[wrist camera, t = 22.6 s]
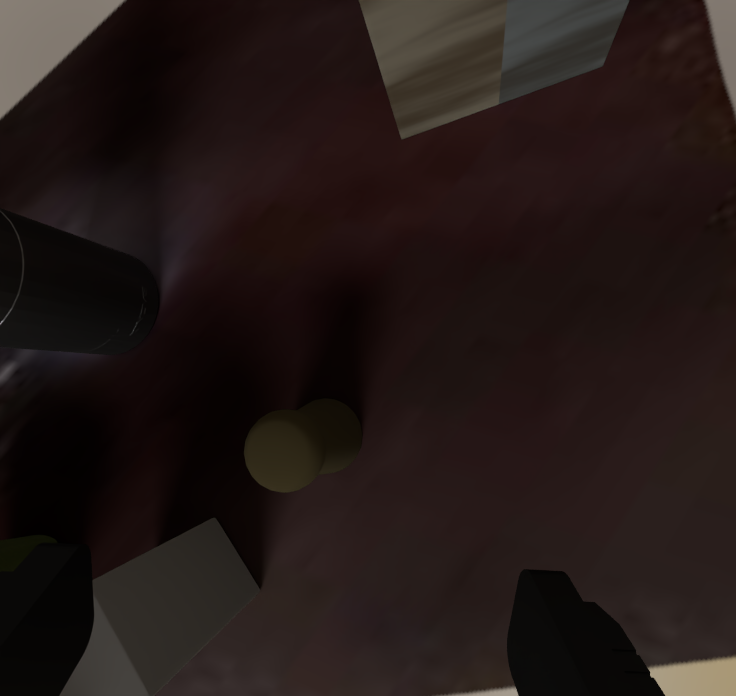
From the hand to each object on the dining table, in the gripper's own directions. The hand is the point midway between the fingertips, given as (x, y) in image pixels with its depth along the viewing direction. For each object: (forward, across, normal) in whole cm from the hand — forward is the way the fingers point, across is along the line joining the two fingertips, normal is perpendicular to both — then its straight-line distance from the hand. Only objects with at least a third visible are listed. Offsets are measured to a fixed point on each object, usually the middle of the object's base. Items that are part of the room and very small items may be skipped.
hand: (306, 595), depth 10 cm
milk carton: (+30, +9, +24) cm, 39 cm away
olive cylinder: (+31, 0, +11) cm, 33 cm away
